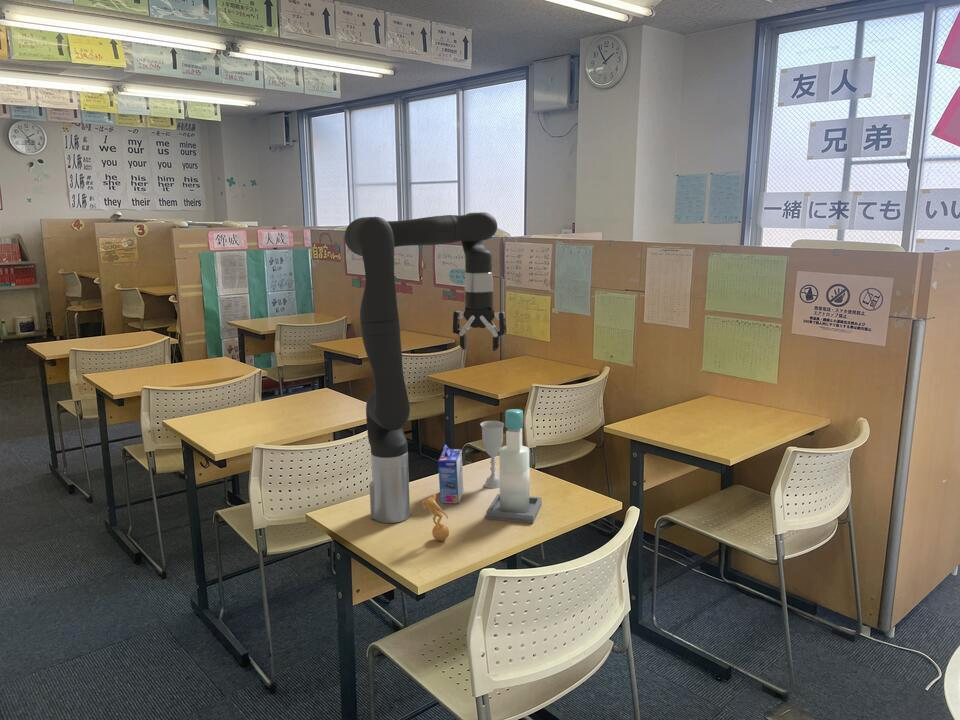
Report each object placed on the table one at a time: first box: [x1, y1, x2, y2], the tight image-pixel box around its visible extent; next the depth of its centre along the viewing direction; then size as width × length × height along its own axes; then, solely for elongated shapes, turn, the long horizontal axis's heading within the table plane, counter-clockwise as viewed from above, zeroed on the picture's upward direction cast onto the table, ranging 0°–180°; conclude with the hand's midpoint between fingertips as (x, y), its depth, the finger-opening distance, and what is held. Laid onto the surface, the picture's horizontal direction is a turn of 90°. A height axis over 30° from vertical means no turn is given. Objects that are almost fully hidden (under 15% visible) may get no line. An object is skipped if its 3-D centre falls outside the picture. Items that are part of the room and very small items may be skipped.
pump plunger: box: [504, 408, 524, 432], centre depth 177 cm, size 4×4×10 cm
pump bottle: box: [485, 428, 543, 524], centre depth 179 cm, size 12×12×22 cm
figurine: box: [421, 493, 450, 542], centre depth 163 cm, size 8×6×12 cm
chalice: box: [479, 420, 506, 489], centre depth 198 cm, size 7×7×18 cm
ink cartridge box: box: [437, 444, 464, 504], centre depth 190 cm, size 10×6×14 cm, turn 174°
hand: (479, 349), depth 188 cm, fingers open, 8 cm apart
